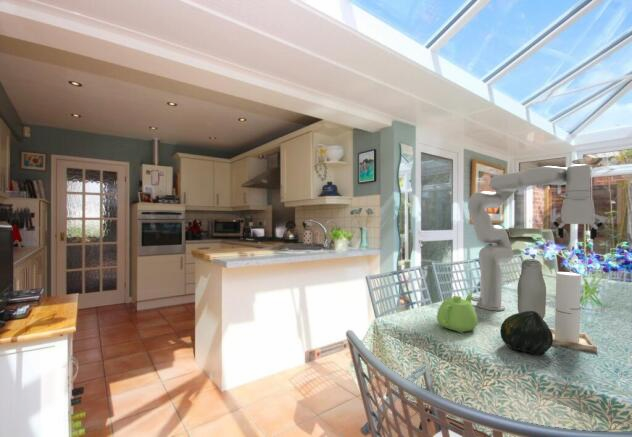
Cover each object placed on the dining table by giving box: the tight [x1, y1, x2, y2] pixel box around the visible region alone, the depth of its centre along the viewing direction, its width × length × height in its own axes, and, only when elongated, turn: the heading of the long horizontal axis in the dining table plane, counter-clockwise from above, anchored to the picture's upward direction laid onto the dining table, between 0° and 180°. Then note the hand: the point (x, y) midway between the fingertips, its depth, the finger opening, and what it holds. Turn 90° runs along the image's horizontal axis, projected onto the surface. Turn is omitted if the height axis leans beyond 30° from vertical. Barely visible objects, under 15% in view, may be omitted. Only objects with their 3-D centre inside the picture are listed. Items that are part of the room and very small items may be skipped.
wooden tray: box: [549, 327, 598, 354], centre depth 116 cm, size 14×14×2 cm
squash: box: [499, 311, 553, 355], centre depth 108 cm, size 14×15×15 cm
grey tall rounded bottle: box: [516, 258, 547, 320], centre depth 137 cm, size 10×10×28 cm
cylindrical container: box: [554, 271, 582, 343], centre depth 116 cm, size 7×7×25 cm
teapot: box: [436, 293, 479, 333], centre depth 130 cm, size 22×15×13 cm
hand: (576, 238), depth 124 cm, fingers open, 9 cm apart
